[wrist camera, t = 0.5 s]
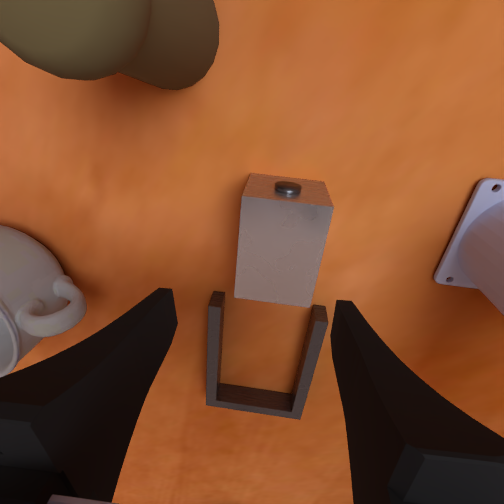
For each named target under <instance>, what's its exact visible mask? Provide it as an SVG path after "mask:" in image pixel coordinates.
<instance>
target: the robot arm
mask: <svg viewBox="0 0 504 504" xmlns="http://www.w3.org/2000/svg"><path fill="white" fill-rule="evenodd" d="M496 184H497V188H496V189H494V190H492V187H493V186H494V185H496ZM448 277H451V278H450V279H448V280H446V279H447V278H448ZM434 280H435V281H436V282H437V283H439V284H444V285H452V286H460V287H467V288H475V289H479V290H480V291H481V292H482V293H483V294H484V295H485V296H486V297H487V298H488V299H489V300H490V301H491V302H492V303H493V305H494V306H495V307H496V308H497V309H498V310H499V311H500V312H501V313H502V314H503V315H504V180H502V179H493V178H485V179H482V180H481V181H480V182H479V183H478V184H477V186H476V188H475V190H474V192H473V194H472V197H471V199H470V201H469V203H468V205H467V207H466V209H465V211H464V213H463V215H462V218H461V220H460V222H459V224H458V226H457V228H456V230H455V232H454V234H453V237H452V239H451V241H450V243H449V245H448V247H447V249H446V251H445V253H444V256H443V258H442V260H441V262H440V264H439V266H438V268H437V270H436V272H435V275H434ZM177 324H178V322H177V316H176V310H175V304H174V297H173V291H172V289H168V288H158V289H157V290H155V291H154V292H153V293H151V294H150V295H149V296H147V297H146V298H145V299H143V300H142V301H141V302H140V303H138V304H137V305H136V306H134V307H133V308H132V309H130V310H129V311H128V312H126V313H125V314H124V315H122V316H121V317H119V318H118V319H116V320H115V321H113V322H112V323H110V324H109V325H107V326H106V327H105V328H103V329H101V330H100V331H98V332H97V333H95V334H93V335H92V336H90V337H88V338H87V339H85V340H83V341H81V342H80V343H78V344H76V345H74V346H72V347H70V348H68V349H66V350H64V351H62V352H60V353H58V354H56V355H54V356H52V357H50V358H47V359H45V360H43V361H41V362H38V363H36V364H34V365H31V366H29V367H26V368H24V369H22V370H19V371H16V372H14V373H11V374H8V375H5V376H3V377H0V504H117V503H111V502H112V499H113V495H114V492H115V489H116V485H117V482H118V478H119V475H120V471H121V468H122V465H123V462H124V459H125V456H126V452H127V449H128V446H129V443H130V440H131V437H132V434H133V431H134V428H135V425H136V423H137V420H138V417H139V414H140V412H141V409H142V406H143V403H144V401H145V398H146V396H147V393H148V391H149V389H150V387H151V385H152V383H153V381H154V379H155V376H156V374H157V372H158V370H159V368H160V366H161V364H162V362H163V360H164V358H165V356H166V354H167V352H168V350H169V347H170V345H171V343H172V340H173V337H174V334H175V331H176V327H177ZM330 336H331V349H332V358H333V363H334V368H335V373H336V377H337V382H338V387H339V391H340V396H341V401H342V405H343V410H344V416H345V423H346V432H347V440H348V449H349V459H350V469H351V479H352V491H353V502H354V504H504V438H503V437H501V436H500V435H498V434H497V433H495V432H493V431H492V430H490V429H489V428H487V427H486V426H484V425H482V424H481V423H479V422H478V421H476V420H475V419H473V418H472V417H470V416H469V415H467V414H466V413H464V412H463V411H462V410H460V409H459V408H457V407H456V406H455V405H453V404H452V403H450V402H449V401H448V400H446V399H445V398H444V397H442V396H441V395H440V394H439V393H437V392H436V391H435V390H434V389H432V388H431V387H430V386H429V385H428V384H426V383H425V382H424V381H423V380H422V379H420V378H419V377H418V376H417V375H416V374H415V373H414V372H413V371H411V370H410V369H409V368H408V367H407V366H406V365H405V364H404V363H403V362H402V361H401V360H400V359H399V358H398V357H397V356H396V355H395V354H394V353H393V352H392V351H391V350H390V349H389V347H388V346H387V345H386V344H385V343H384V342H383V341H382V339H381V338H380V337H379V336H378V335H377V333H376V332H375V331H374V330H373V329H372V327H371V326H370V325H369V324H368V322H367V321H366V320H365V318H364V317H363V316H362V314H361V313H360V312H359V310H358V309H357V307H356V306H355V305H354V303H353V302H352V301H345V300H337V301H336V306H335V312H334V318H333V324H332V330H331V335H330Z"/></svg>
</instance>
